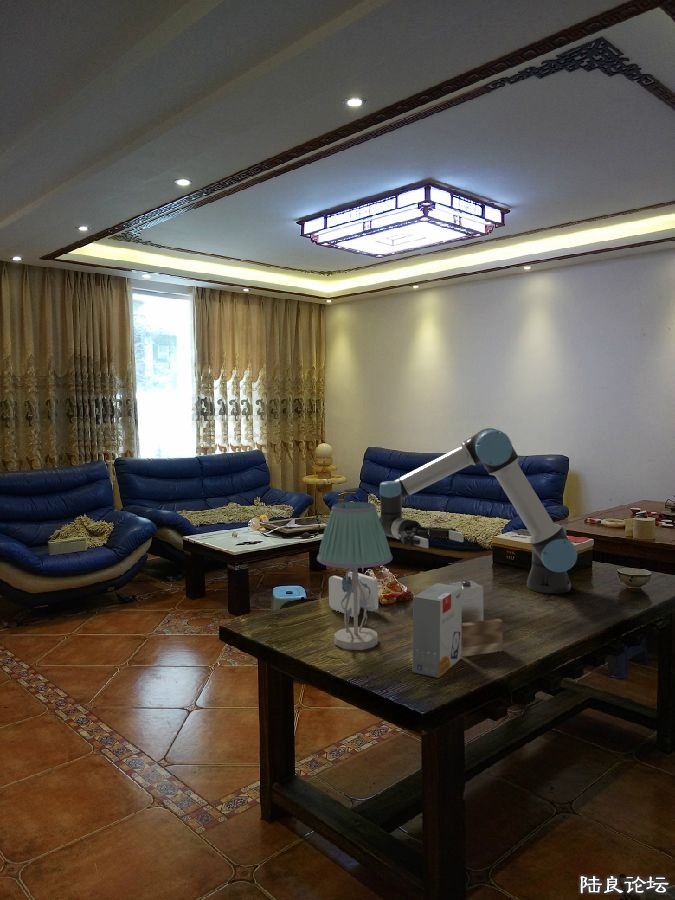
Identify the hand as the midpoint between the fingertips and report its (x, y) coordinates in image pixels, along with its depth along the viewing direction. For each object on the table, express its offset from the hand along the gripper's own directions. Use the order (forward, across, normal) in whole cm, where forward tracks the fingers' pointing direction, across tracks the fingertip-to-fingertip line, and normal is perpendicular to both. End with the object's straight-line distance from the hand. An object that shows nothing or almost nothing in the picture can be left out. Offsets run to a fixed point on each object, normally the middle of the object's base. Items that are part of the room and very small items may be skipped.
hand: (445, 540), depth 204 cm
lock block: (+16, +6, -23) cm, 29 cm away
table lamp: (+1, +33, -25) cm, 42 cm away
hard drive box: (+26, +23, -26) cm, 43 cm away
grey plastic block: (-24, +20, -25) cm, 41 cm away
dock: (+17, +6, -26) cm, 32 cm away
